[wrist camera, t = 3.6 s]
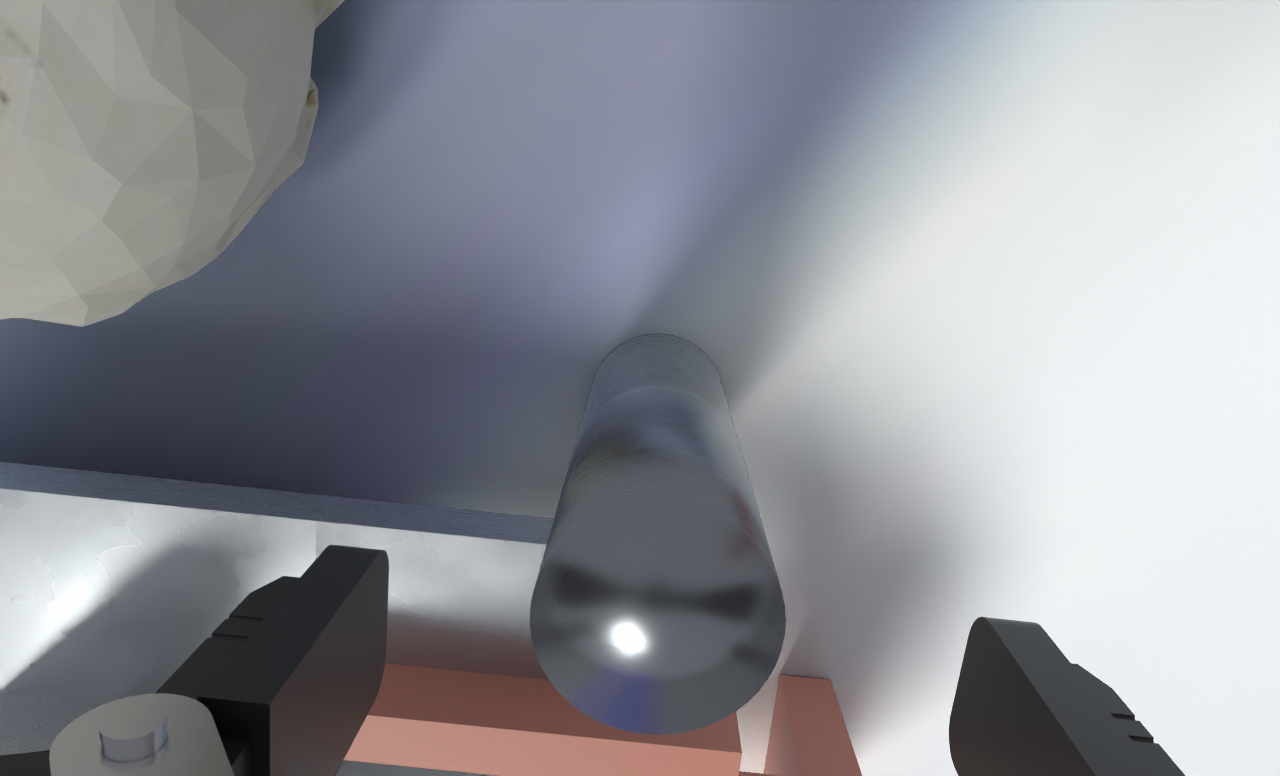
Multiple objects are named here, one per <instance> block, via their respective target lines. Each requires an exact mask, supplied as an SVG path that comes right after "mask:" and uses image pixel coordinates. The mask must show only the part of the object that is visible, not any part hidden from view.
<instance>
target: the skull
mask: <svg viewBox="0 0 1280 776" xmlns="http://www.w3.org/2000/svg"><path fill="white" fill-rule="evenodd" d="M344 1H345V0H0V320H1V319H9V318H26V319H33V320H40V321H47V322H53V323H60V324H66V325H73V326H79V327H84V326H87V325H90V324H93V323H96V322H99V321H102V320H105V319H108V318H111V317H114V316H117V315H120V314H122V313H124V312H125V311H126V310H128V309H129V308H131V307H132V306H134V305H135V304H137V303H138V302H140V301H141V300H143V299H144V298H145V297H147V296H148V295H150V294H151V293H153V292H155V291H158V290H160V289H162V288H165V287H167V286H169V285H171V284H174V283H176V282H178V281H181V280H183V279H185V278H188V277H190V276H192V275H194V274H195V273H196V272H198V271H199V270H200V269H202V268H203V267H204V266H206V265H207V264H208V263H210V262H211V261H212V260H214V259H215V258H216V257H218V256H219V255H220V254H221V253H222V252H223V251H224V250H225V249H226V248H227V247H228V245H229V244H230V243H231V242H232V241H233V240H234V239H235V238H236V237H237V236H238V235H239V234H240V233H241V232H242V230H243V229H244V228H245V227H246V226H247V224H248V223H249V222H250V221H251V219H252V218H253V217H254V216H255V215H256V213H257V212H258V211H259V210H260V209H261V207H262V206H263V205H264V204H265V202H266V201H267V200H268V199H269V198H270V196H271V195H272V194H273V193H274V192H275V190H276V189H277V188H278V187H279V186H280V185H281V184H282V183H283V182H284V181H285V180H287V179H288V178H289V177H290V176H291V175H292V174H293V173H294V172H295V171H296V170H297V169H298V168H299V167H300V166H302V165H303V164H304V162H305V158H306V154H307V151H308V147H309V143H310V139H311V135H312V131H313V128H314V124H315V120H316V116H317V112H318V108H319V101H318V89H317V86H316V84H315V83H314V81H313V80H312V78H311V77H310V73H311V63H312V52H313V42H314V33H315V29H316V28H317V27H318V26H319V25H320V24H321V23H322V22H323V21H324V20H325V19H326V18H327V17H328V16H329V15H330V14H331V13H332V12H333V11H334V10H336V9H337V8H338V7H339V6H340V5H341V4H342V3H343V2H344Z"/></svg>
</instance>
